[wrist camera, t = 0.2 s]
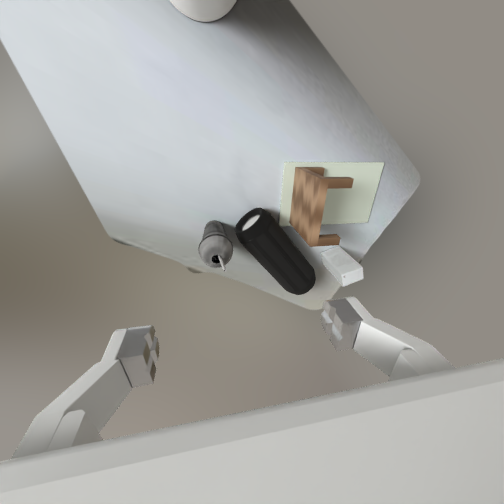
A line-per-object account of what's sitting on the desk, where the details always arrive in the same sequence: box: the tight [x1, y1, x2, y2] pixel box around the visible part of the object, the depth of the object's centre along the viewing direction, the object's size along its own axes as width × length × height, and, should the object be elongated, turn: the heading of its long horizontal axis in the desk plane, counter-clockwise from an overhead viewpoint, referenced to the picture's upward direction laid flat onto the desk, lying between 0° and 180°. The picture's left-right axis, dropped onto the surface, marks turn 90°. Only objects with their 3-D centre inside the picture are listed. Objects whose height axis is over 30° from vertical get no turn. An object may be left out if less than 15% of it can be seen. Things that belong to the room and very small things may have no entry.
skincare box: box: [321, 246, 363, 286], centre depth 64 cm, size 6×4×12 cm
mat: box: [279, 162, 384, 227], centre depth 60 cm, size 16×26×1 cm, turn 88°
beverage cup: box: [199, 221, 233, 272], centre depth 50 cm, size 7×7×20 cm
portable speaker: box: [235, 208, 316, 295], centre depth 60 cm, size 26×10×10 cm, turn 38°
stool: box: [289, 167, 354, 247], centre depth 53 cm, size 14×7×14 cm, turn 178°
